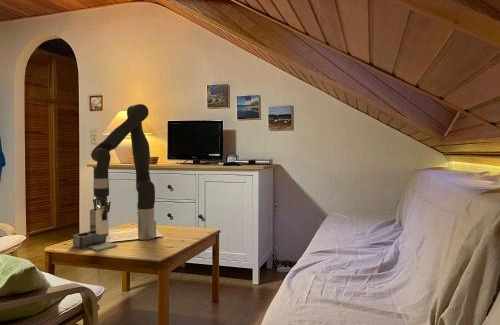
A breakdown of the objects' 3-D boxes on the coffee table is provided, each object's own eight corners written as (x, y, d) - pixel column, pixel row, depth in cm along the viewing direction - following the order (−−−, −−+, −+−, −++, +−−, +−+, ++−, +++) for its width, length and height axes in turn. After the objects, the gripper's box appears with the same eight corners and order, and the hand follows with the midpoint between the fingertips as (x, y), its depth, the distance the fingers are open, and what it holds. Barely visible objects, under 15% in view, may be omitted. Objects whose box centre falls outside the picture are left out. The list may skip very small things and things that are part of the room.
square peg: (103, 231, 201) (103, 209, 200) (108, 233, 198) (107, 210, 198) (96, 233, 198) (95, 210, 197) (100, 234, 195) (99, 211, 194)
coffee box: (100, 238, 215) (99, 210, 214) (89, 237, 216) (89, 209, 215) (109, 234, 224) (108, 207, 223) (99, 233, 225) (98, 206, 224)
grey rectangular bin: (98, 240, 212) (97, 229, 211) (105, 242, 206) (105, 232, 206) (73, 246, 201) (72, 234, 200) (80, 249, 196) (80, 237, 195)
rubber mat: (108, 243, 206) (108, 241, 206) (117, 246, 200) (117, 244, 200) (88, 247, 197) (88, 246, 197) (97, 251, 192) (97, 249, 192)
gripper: (115, 187, 195) (116, 220, 196) (101, 184, 204) (101, 216, 205) (101, 189, 189) (102, 222, 190) (87, 186, 198) (88, 218, 199)
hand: (102, 219), depth 198 cm, fingers closed on square peg, 4 cm apart
